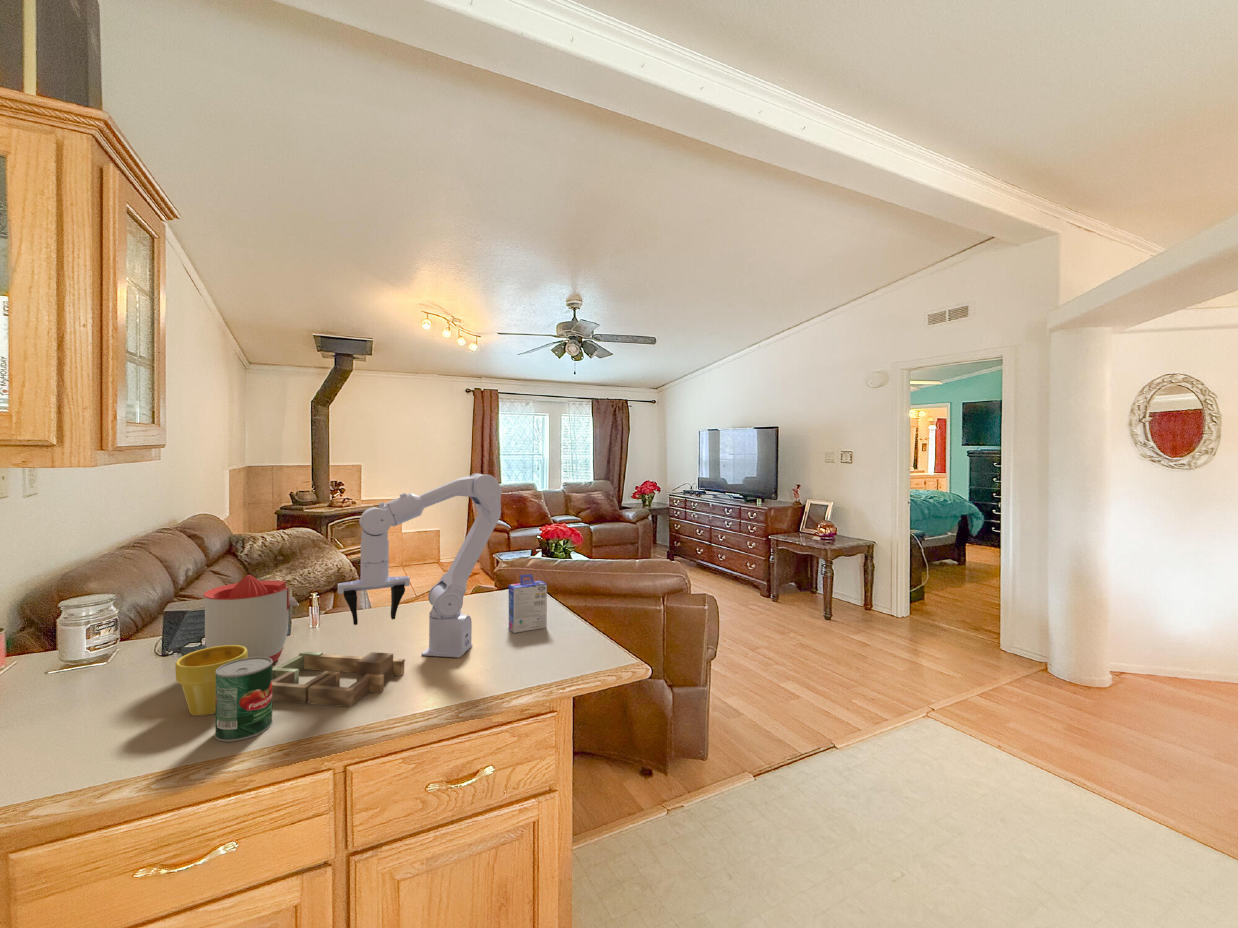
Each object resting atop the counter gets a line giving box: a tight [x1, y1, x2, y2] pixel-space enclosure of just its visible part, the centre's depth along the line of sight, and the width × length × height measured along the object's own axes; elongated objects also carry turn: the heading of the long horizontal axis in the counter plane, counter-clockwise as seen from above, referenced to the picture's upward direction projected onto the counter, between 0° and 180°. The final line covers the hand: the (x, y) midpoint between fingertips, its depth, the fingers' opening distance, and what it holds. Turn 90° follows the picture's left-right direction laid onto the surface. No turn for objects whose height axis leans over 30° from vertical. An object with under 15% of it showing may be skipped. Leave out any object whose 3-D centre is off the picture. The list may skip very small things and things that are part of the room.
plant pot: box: [174, 645, 248, 717], centre depth 93 cm, size 10×10×10 cm
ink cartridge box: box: [507, 573, 548, 634], centre depth 139 cm, size 10×6×14 cm, turn 120°
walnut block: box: [356, 651, 394, 684], centre depth 105 cm, size 5×5×5 cm
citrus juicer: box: [203, 574, 299, 664], centre depth 113 cm, size 16×17×20 cm
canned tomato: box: [214, 657, 274, 743], centre depth 86 cm, size 8×8×11 cm
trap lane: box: [272, 650, 405, 708], centre depth 103 cm, size 24×15×3 cm, turn 84°
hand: (374, 620), depth 114 cm, fingers open, 7 cm apart
